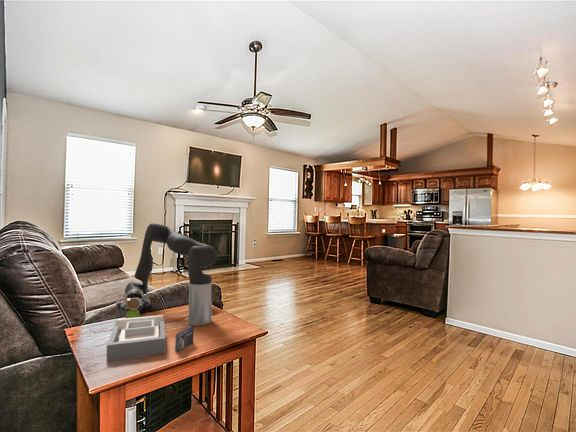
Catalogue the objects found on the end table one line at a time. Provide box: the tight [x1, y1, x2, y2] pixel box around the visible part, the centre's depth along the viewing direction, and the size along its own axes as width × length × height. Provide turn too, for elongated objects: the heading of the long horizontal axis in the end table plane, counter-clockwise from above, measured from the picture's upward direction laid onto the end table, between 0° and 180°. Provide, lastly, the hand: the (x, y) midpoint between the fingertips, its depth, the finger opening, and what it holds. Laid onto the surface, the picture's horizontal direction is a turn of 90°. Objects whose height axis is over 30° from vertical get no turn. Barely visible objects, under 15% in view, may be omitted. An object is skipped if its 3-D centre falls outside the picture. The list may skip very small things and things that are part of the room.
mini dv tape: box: [174, 325, 195, 353], centre depth 108 cm, size 8×2×6 cm, turn 163°
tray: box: [117, 314, 164, 342], centre depth 118 cm, size 17×17×4 cm
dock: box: [106, 320, 166, 362], centre depth 108 cm, size 17×18×5 cm
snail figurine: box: [123, 293, 141, 318], centre depth 131 cm, size 5×6×12 cm
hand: (131, 308), depth 129 cm, fingers closed on snail figurine, 5 cm apart
